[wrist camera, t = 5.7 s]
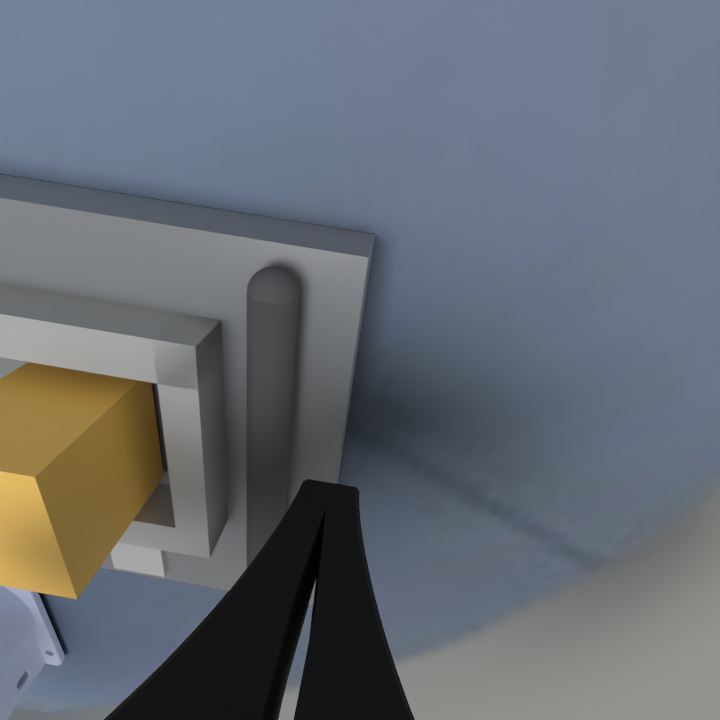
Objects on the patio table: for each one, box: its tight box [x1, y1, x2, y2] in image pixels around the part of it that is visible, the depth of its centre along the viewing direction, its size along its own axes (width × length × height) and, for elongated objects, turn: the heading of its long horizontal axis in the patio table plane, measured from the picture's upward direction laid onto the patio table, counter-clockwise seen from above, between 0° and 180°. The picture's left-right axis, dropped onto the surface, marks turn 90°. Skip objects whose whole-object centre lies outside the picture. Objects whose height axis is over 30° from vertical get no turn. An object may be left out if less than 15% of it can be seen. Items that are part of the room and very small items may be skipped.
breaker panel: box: [0, 174, 375, 606], centre depth 13 cm, size 14×22×4 cm, turn 82°
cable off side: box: [247, 267, 300, 568], centre depth 12 cm, size 11×1×1 cm, turn 172°
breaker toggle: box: [0, 362, 164, 599], centre depth 11 cm, size 4×3×4 cm
